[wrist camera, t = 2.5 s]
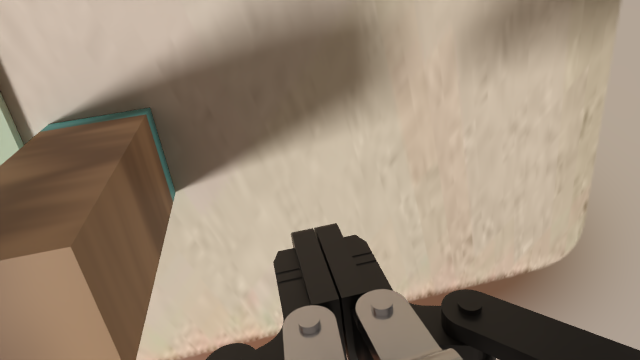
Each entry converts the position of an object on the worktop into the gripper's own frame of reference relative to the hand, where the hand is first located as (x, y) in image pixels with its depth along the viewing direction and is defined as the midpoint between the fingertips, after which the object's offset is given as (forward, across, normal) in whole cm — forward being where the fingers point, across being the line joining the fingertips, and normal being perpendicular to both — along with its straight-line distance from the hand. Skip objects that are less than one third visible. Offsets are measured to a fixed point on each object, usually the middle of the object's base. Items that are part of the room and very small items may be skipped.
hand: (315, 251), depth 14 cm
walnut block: (+12, +9, 0) cm, 15 cm away
